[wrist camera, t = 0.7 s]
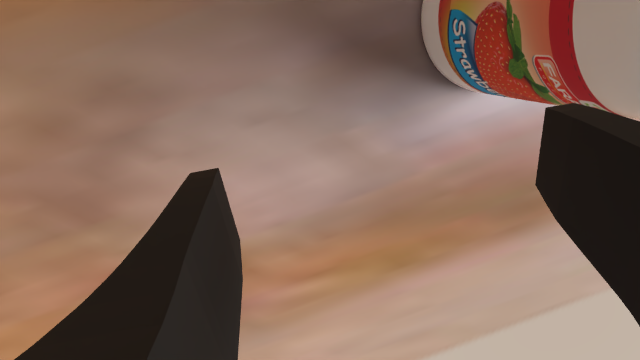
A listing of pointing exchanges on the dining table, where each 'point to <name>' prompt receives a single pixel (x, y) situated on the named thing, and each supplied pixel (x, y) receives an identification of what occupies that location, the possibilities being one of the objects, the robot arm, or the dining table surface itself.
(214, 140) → the dining table surface
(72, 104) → the dining table surface
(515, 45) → the fruit juice
